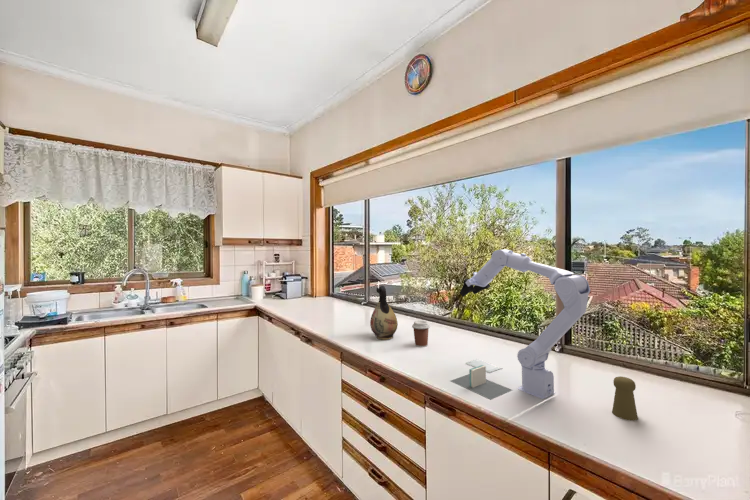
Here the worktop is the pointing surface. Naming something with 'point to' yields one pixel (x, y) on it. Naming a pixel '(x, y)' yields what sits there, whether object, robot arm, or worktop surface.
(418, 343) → the coffee cup
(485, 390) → the mat
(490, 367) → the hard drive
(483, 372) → the tile
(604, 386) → the worktop surface
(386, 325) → the ceramic jug
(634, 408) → the olive green pepper mill
